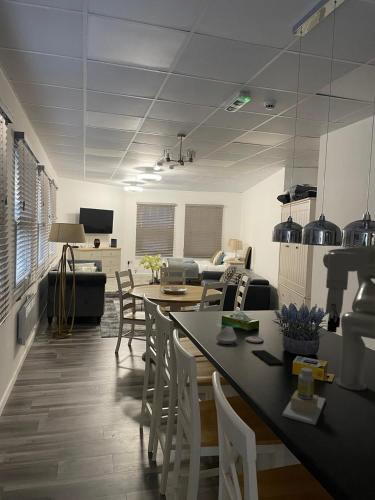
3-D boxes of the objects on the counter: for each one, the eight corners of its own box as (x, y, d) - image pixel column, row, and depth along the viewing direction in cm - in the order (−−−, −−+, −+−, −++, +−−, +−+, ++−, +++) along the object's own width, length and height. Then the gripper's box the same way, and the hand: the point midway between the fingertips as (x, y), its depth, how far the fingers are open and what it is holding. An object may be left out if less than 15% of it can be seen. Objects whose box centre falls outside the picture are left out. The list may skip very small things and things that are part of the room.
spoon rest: (234, 347, 207) (235, 335, 207) (214, 345, 210) (214, 332, 209) (239, 336, 230) (239, 325, 230) (220, 334, 233) (221, 323, 232)
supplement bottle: (309, 393, 138) (311, 367, 137) (315, 399, 133) (317, 372, 132) (295, 392, 138) (297, 366, 137) (300, 399, 132) (302, 371, 132)
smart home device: (269, 363, 180) (251, 350, 199) (268, 366, 180) (250, 353, 199) (284, 362, 182) (265, 349, 202) (284, 366, 182) (264, 352, 202)
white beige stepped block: (296, 393, 149) (297, 381, 149) (325, 401, 144) (326, 387, 144) (282, 415, 130) (283, 401, 130) (315, 425, 125) (316, 410, 124)
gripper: (329, 281, 151) (326, 323, 152) (322, 285, 136) (319, 332, 136) (349, 283, 147) (346, 326, 148) (345, 288, 132) (341, 335, 133)
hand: (333, 329), depth 142 cm, fingers open, 9 cm apart
